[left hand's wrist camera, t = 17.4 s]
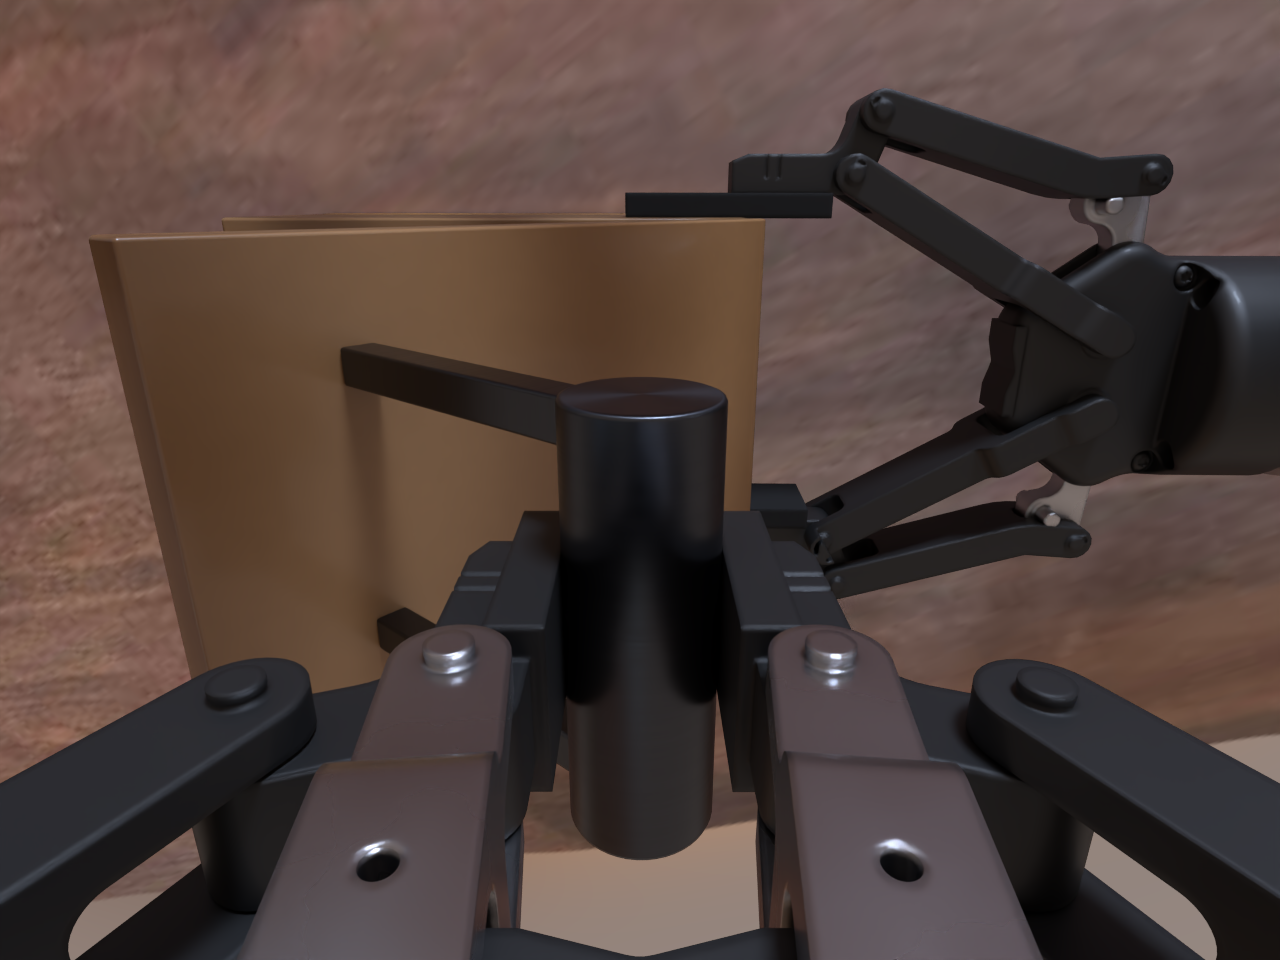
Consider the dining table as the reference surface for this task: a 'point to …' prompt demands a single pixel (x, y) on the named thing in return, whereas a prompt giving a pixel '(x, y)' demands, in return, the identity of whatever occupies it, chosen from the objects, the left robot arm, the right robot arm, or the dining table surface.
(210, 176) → the dining table surface
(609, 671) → the lid
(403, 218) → the chest
